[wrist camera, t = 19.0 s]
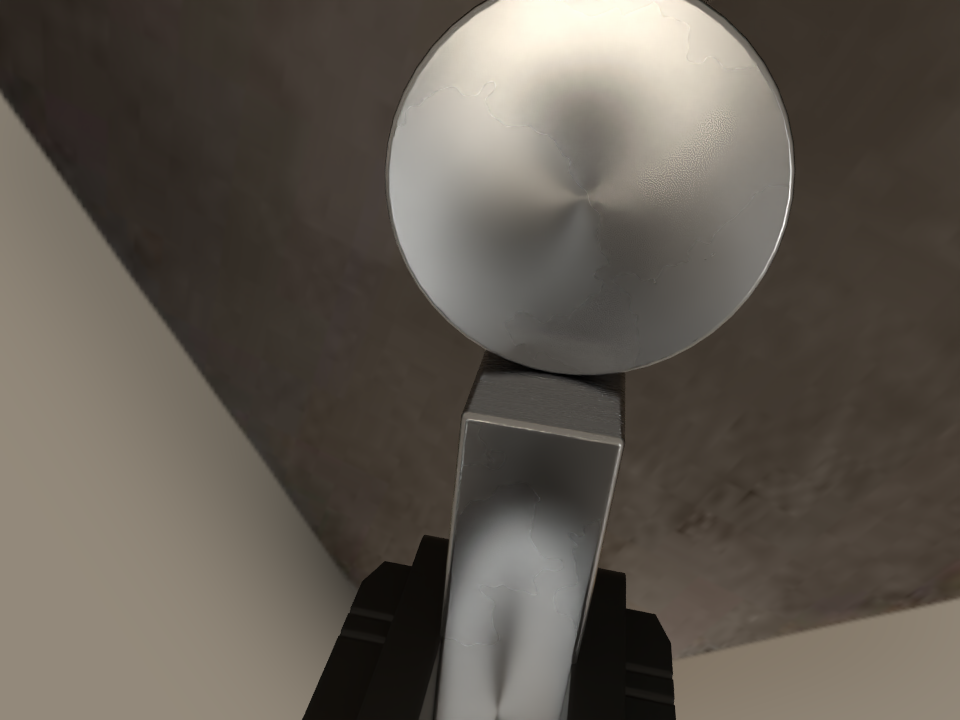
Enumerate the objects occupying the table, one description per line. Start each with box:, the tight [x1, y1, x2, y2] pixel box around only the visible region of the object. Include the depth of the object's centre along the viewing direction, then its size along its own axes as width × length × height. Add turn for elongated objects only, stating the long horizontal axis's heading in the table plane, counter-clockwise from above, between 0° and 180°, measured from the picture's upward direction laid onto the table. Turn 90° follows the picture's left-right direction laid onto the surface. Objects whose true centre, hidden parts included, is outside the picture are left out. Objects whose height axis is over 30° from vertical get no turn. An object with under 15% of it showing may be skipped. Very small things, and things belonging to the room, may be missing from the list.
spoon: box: [385, 0, 795, 720], centre depth 10 cm, size 13×4×2 cm, turn 174°
